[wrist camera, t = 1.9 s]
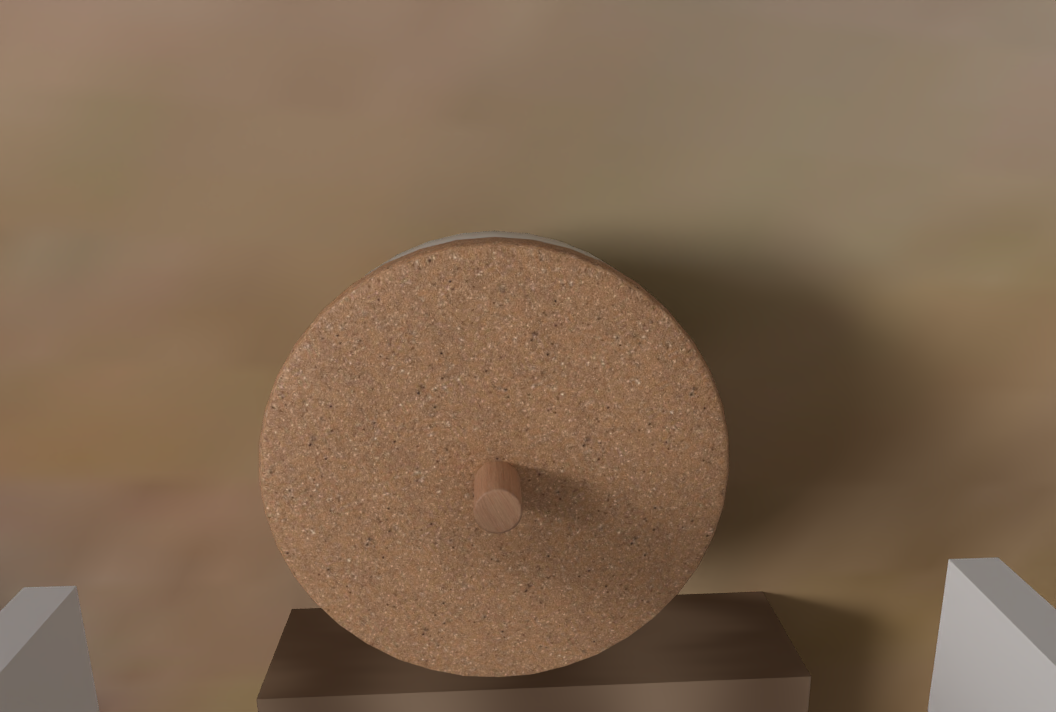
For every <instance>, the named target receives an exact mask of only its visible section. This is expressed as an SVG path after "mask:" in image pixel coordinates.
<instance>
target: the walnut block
mask: <svg viewBox="0 0 1056 712" xmlns="http://www.w3.org/2000/svg"><path fill="white" fill-rule="evenodd" d="M810 684H811V675H810V674H809V672H808V670H807V668H806V667H805V665H804V663H803V661H802V660H801V658H800V656H799V654H798V653H797V651H796V649H795V647H794V646H793V644H792V642H791V640H790V639H789V637H788V635H787V634H786V632H785V630H784V628H783V627H782V625H781V623H780V621H779V620H778V618H777V616H776V614H775V613H774V611H773V609H772V607H771V606H770V604H769V602H768V600H767V599H766V597H765V595H764V593H763V592H738V593H712V594H685V595H676V596H675V597H674V598H673V599H672V600H671V601H670V602H669V603H668V604H667V605H666V606H665V607H664V608H663V609H662V610H661V611H660V612H659V613H658V614H657V615H656V616H655V617H654V618H653V619H652V620H650V621H649V622H648V623H646V624H645V625H644V626H642V627H641V628H640V629H638V630H637V631H635V632H634V633H633V634H631V635H630V636H629V637H627V638H626V639H624V640H622V641H620V642H618V643H616V644H615V645H613V646H611V647H609V648H608V649H606V650H604V651H602V652H601V653H599V654H597V655H594V656H592V657H589V658H586V659H583V660H581V661H578V662H575V663H573V664H570V665H567V666H564V667H560V668H556V669H552V670H548V671H544V672H540V673H535V674H530V675H517V676H505V677H481V676H462V675H456V674H451V673H446V672H441V671H436V670H431V669H428V668H424V667H421V666H418V665H415V664H411V663H408V662H405V661H402V660H399V659H397V658H395V657H393V656H391V655H389V654H387V653H385V652H383V651H381V650H379V649H377V648H375V647H373V646H371V645H369V644H367V643H365V642H364V641H362V640H361V639H359V638H358V637H356V636H355V635H354V634H352V633H351V632H349V631H348V630H346V629H345V628H343V627H342V626H340V625H339V624H338V623H337V622H336V621H335V620H334V619H333V618H331V617H330V616H329V615H328V614H327V613H326V612H325V611H324V610H323V609H322V608H311V609H292V610H291V613H290V616H289V618H288V621H287V623H286V626H285V628H284V631H283V633H282V636H281V638H280V641H279V644H278V646H277V649H276V651H275V654H274V656H273V659H272V661H271V664H270V666H269V669H268V672H267V674H266V677H265V679H264V682H263V684H262V687H261V689H260V692H259V694H258V697H257V707H258V712H808V706H809V695H810Z"/></svg>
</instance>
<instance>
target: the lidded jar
mask: <svg viewBox="0 0 1056 712" xmlns="http://www.w3.org/2000/svg"><path fill="white" fill-rule="evenodd" d="M728 476H729V436H728V431H727V425H726V420H725V414H724V409H723V404H722V401H721V398H720V396H719V393H718V390H717V387H716V385H715V382H714V379H713V376H712V374H711V371H710V369H709V368H708V366H707V364H706V362H705V361H704V359H703V357H702V355H701V354H700V352H699V350H698V348H697V347H696V345H695V343H694V341H693V340H692V339H691V338H690V336H689V335H688V334H687V333H686V331H685V330H684V329H683V328H682V327H681V325H680V324H679V323H678V322H677V320H676V319H675V318H674V317H673V316H672V314H671V313H670V312H669V311H668V310H667V309H666V308H665V307H664V306H663V305H662V304H661V303H660V302H659V301H658V300H656V299H655V298H654V297H653V296H652V295H651V294H649V293H648V292H647V291H646V290H645V289H644V288H643V287H641V286H640V285H639V284H638V283H637V282H635V281H634V280H632V279H630V278H629V277H627V276H625V275H624V274H622V273H621V272H619V271H618V270H616V269H615V268H613V267H612V266H610V265H608V264H607V263H605V262H603V261H602V260H600V259H599V258H597V257H595V256H594V255H592V254H590V253H588V252H585V251H583V250H581V249H578V248H576V247H573V246H571V245H569V244H566V243H564V242H561V241H558V240H553V239H549V238H545V237H541V236H537V235H533V234H528V233H518V232H505V231H484V232H472V233H461V234H457V235H453V236H449V237H445V238H441V239H437V240H433V241H428V242H426V243H424V244H421V245H419V246H416V247H414V248H412V249H409V250H407V251H404V252H402V253H400V254H397V255H396V256H394V257H392V258H391V259H389V260H388V261H386V262H384V263H383V264H381V265H380V266H378V267H376V268H375V269H373V270H372V271H370V272H369V273H368V274H366V275H365V276H364V277H363V278H361V279H359V280H358V281H356V282H355V283H353V284H352V285H350V286H349V287H348V288H347V289H346V290H345V291H344V292H342V293H341V294H340V295H339V296H338V297H337V298H336V299H334V300H333V301H332V302H331V303H330V304H329V305H328V306H326V307H325V308H324V309H323V310H322V311H321V312H320V314H319V315H318V316H317V317H316V319H315V320H314V321H313V322H312V324H311V325H310V326H309V327H308V328H307V330H306V331H305V332H304V333H303V335H302V336H301V337H300V338H299V340H298V341H297V342H296V344H295V345H294V347H293V349H292V350H291V352H290V354H289V356H288V358H287V359H286V361H285V363H284V365H283V366H282V368H281V370H280V372H279V373H278V375H277V378H276V380H275V383H274V386H273V389H272V392H271V394H270V397H269V400H268V403H267V406H266V408H265V413H264V419H263V424H262V430H261V436H260V442H259V481H260V487H261V492H262V498H263V504H264V509H265V514H266V517H267V520H268V522H269V525H270V528H271V531H272V534H273V536H274V539H275V542H276V545H277V547H278V548H279V550H280V552H281V554H282V556H283V557H284V559H285V561H286V563H287V565H288V566H289V568H290V570H291V572H292V574H293V575H294V577H295V578H296V579H297V580H298V582H299V583H300V584H301V585H302V587H303V588H304V589H305V590H306V592H307V593H308V594H309V596H310V597H311V598H312V599H313V601H314V602H315V603H316V604H317V605H319V606H320V607H321V608H322V609H323V610H324V611H325V612H326V613H327V614H328V615H329V616H330V617H331V618H333V619H334V620H335V621H336V622H337V623H338V624H339V625H340V626H342V627H343V628H345V629H346V630H348V631H349V632H351V633H352V634H354V635H355V636H356V637H358V638H359V639H361V640H362V641H364V642H365V643H367V644H369V645H371V646H373V647H375V648H377V649H379V650H381V651H383V652H385V653H387V654H389V655H391V656H393V657H395V658H397V659H399V660H402V661H405V662H408V663H411V664H415V665H418V666H421V667H424V668H428V669H431V670H436V671H441V672H446V673H451V674H456V675H462V676H481V677H505V676H517V675H530V674H535V673H540V672H544V671H548V670H552V669H556V668H560V667H564V666H567V665H570V664H573V663H575V662H578V661H581V660H583V659H586V658H589V657H592V656H594V655H597V654H599V653H601V652H602V651H604V650H606V649H608V648H609V647H611V646H613V645H615V644H616V643H618V642H620V641H622V640H624V639H626V638H627V637H629V636H630V635H631V634H633V633H634V632H635V631H637V630H638V629H640V628H641V627H642V626H644V625H645V624H646V623H648V622H649V621H650V620H652V619H653V618H654V617H655V616H656V615H657V614H658V613H659V612H660V611H661V610H662V609H663V608H664V607H665V606H666V605H667V604H668V603H669V602H670V601H671V600H672V599H673V598H674V597H675V596H676V595H677V594H678V593H679V592H680V590H681V589H682V588H683V586H684V585H685V583H686V582H687V581H688V579H689V578H690V577H691V575H692V574H693V573H694V571H695V570H696V568H697V567H698V565H699V564H700V562H701V560H702V558H703V556H704V554H705V552H706V550H707V548H708V546H709V544H710V542H711V540H712V538H713V536H714V533H715V530H716V527H717V524H718V521H719V518H720V515H721V512H722V509H723V506H724V501H725V495H726V489H727V482H728Z"/></svg>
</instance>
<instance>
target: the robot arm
mask: <svg viewBox="0 0 1056 712" xmlns="http://www.w3.org/2000/svg"><path fill="white" fill-rule="evenodd" d="M0 712H99V707H98V701H97V696H96V690H95V685H94V679H93V674H92V669H91V663H90V658H89V652H88V647H87V641H86V636H85V631H84V625H83V620H82V614H81V609H80V603H79V598H78V592H77V587H76V586H57V587H25V588H23V589H22V590H21V591H20V592H19V593H18V594H17V595H16V596H15V597H14V598H13V599H12V600H11V601H10V602H9V603H8V604H7V605H6V606H5V607H4V608H3V609H2V610H1V611H0ZM928 712H1056V609H1055V608H1054V607H1053V606H1051V605H1050V604H1049V603H1048V602H1047V601H1046V600H1045V599H1044V598H1043V597H1041V596H1040V595H1039V594H1038V593H1037V592H1036V591H1035V590H1034V589H1033V588H1031V587H1030V586H1029V585H1028V584H1027V583H1026V582H1025V581H1024V580H1023V579H1021V578H1020V577H1019V576H1018V575H1017V574H1016V573H1015V572H1014V571H1012V570H1011V569H1010V568H1009V567H1008V566H1007V565H1006V564H1005V563H1004V562H1002V561H1001V560H1000V559H999V558H968V559H949V561H948V569H947V576H946V583H945V590H944V597H943V604H942V612H941V619H940V626H939V633H938V640H937V647H936V655H935V662H934V669H933V676H932V683H931V690H930V698H929V705H928Z"/></svg>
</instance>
